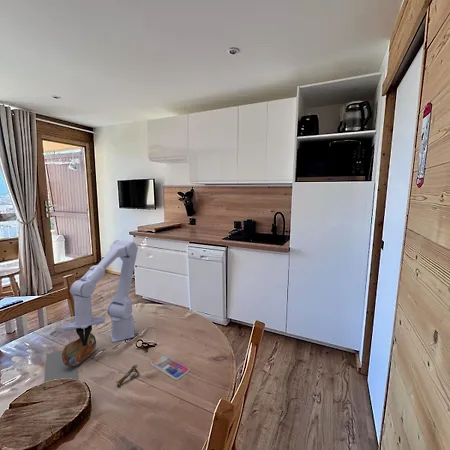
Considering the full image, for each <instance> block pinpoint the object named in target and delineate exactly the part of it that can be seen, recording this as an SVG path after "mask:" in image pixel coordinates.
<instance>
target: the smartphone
mask: <svg viewBox="0 0 450 450" xmlns="http://www.w3.org/2000/svg"><path fill="white" fill-rule="evenodd" d="M150 366H152V367H153V368H155V369H157V370H158V371H160V372H161V373H163V374H165V375H166V376H167V377H169V378H172V380H174V381H178V380H180V379H182V378H183V377H184V376H185V374H186V373H187V374H189V372H190V371H191V370H190V369H191V368H189V367H187V366H186V365H183V364H182V363H181V362H178V361H177V360H175V359H173V358H171V357H169V356H168V355H165V354H164V355H161V356H160V357H158V358H156V359H154V360H152V361H151V362H150ZM187 374H186V375H187Z"/></svg>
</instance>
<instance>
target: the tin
mask: <svg viewBox="0 0 450 450" xmlns="http://www.w3.org/2000/svg"><path fill="white" fill-rule="evenodd" d="M84 336H85V333H84ZM96 347H97V340H96V337H95V335H94V334H93V333H90V335H89V337H88V341H87V345H85V346H83V344H82V341H81V339H80V337H79V336H78V337H77V338H75V339H74V340H72V341H71V342H69V343H68V344H67V345H66V346H65V347H64V348H63V349H62V350H63V352H62V359H63V362H64V364H65V365H66V366H76V365H77V366H78V365H80V364H81V363H82V362H83V361H84V360H86V359H87V358H88V357H89V356H91V355H92V354H93V353H94V352H95V350H96Z"/></svg>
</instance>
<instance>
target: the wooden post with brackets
mask: <svg viewBox="0 0 450 450" xmlns="http://www.w3.org/2000/svg"><path fill="white" fill-rule="evenodd" d="M137 368H138V364H134V365H132V366H131V369H129V370H128V371H127V372H126V373H125V374H124V376H122V377H121V378H120V379H119V380H116V381H115V383H116V385H118V386H119V388H121V387H122V384H123V383H124V382H125V380H126V379H128V378H129V377H130V378H129V380H133V379H134V378H136V376H137V375H140V372H139V370H138V369H137ZM133 372H134V373H133Z"/></svg>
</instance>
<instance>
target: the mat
mask: <svg viewBox="0 0 450 450" xmlns="http://www.w3.org/2000/svg"><path fill="white" fill-rule="evenodd" d="M63 350H64V349H62V350H59V351H55V352H51V353H47V354H46V357H45V358H46V359H45V371H44V380H43V381H44V382H46V381H50V380H54V379H61V378H72V379H78V380H79V375H78V374H79V373H78V365H76V366H66V365H65V364H64V362H63V359H62V352H63ZM44 382H43V383H44Z"/></svg>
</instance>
